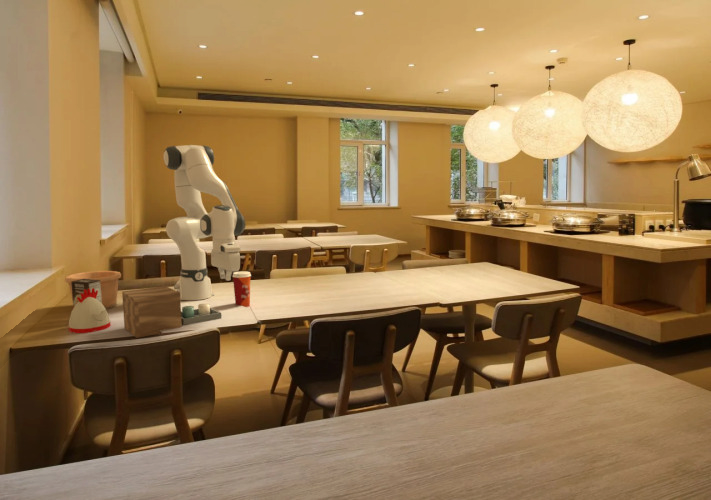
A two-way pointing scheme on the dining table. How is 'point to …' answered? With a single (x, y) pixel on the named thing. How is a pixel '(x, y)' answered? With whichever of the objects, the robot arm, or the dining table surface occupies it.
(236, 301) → the coffee cup
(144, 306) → the wood grain block
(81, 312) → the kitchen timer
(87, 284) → the coffee box
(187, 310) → the teal short cylinder
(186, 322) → the tray
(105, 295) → the pottery
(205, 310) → the cream rounded cylinder
